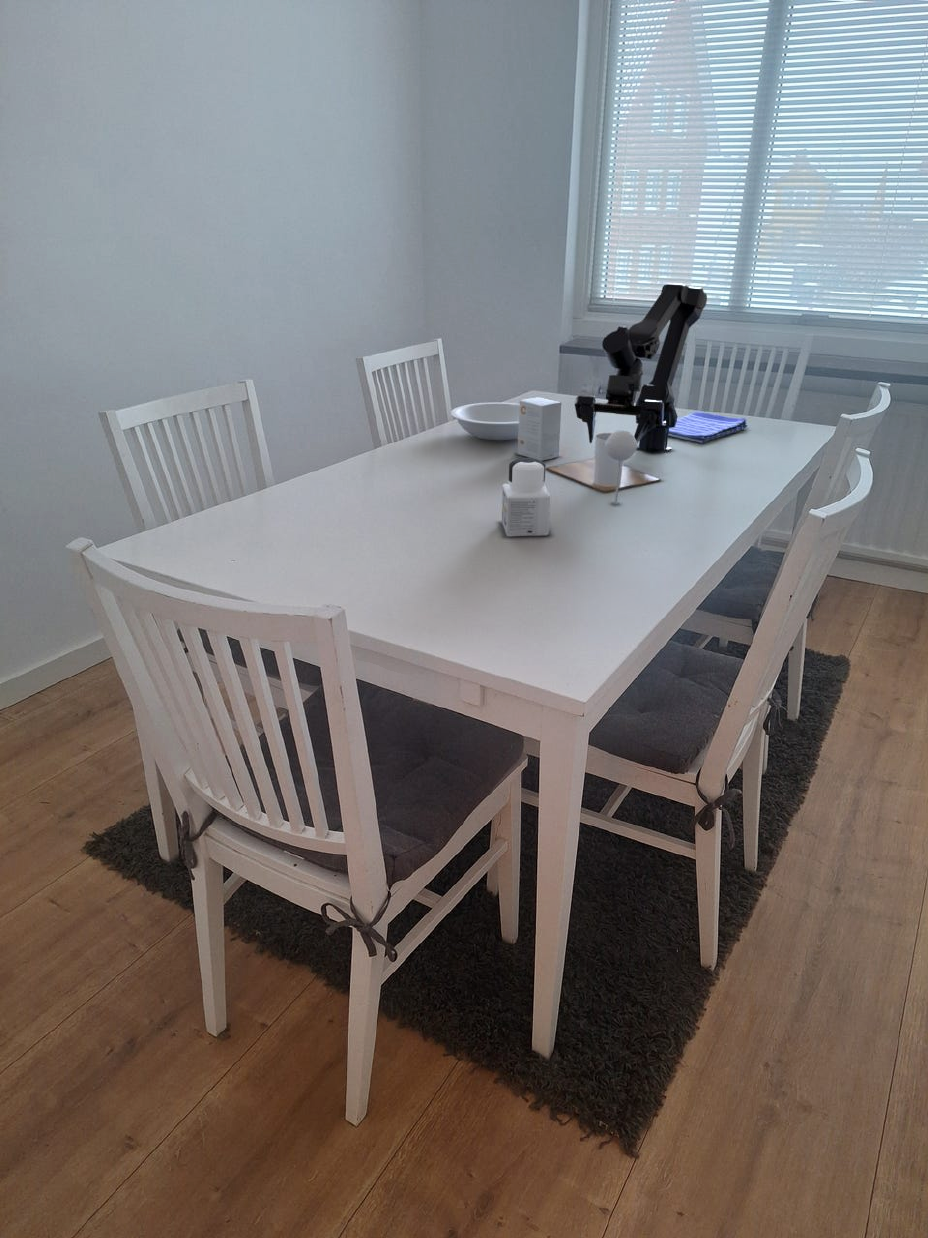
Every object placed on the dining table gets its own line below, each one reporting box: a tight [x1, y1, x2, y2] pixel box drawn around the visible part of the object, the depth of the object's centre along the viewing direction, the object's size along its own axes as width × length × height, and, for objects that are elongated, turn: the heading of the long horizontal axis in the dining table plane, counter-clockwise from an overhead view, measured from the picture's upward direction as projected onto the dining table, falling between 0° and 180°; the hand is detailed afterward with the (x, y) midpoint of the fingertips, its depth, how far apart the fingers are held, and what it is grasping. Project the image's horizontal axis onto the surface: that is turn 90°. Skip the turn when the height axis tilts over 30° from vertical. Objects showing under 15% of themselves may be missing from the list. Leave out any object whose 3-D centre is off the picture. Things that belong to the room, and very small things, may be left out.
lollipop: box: [605, 429, 638, 506], centre depth 160 cm, size 6×6×15 cm
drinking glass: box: [593, 432, 625, 487], centre depth 173 cm, size 7×7×10 cm
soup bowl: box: [450, 402, 520, 441], centre depth 209 cm, size 24×24×7 cm
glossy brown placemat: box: [546, 458, 661, 494], centre depth 182 cm, size 16×20×1 cm
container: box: [501, 457, 552, 538], centre depth 148 cm, size 8×8×13 cm
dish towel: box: [668, 411, 748, 444], centre depth 218 cm, size 17×24×3 cm
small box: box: [517, 396, 562, 462], centre depth 193 cm, size 8×6×13 cm
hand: (611, 444), depth 173 cm, fingers open, 9 cm apart
